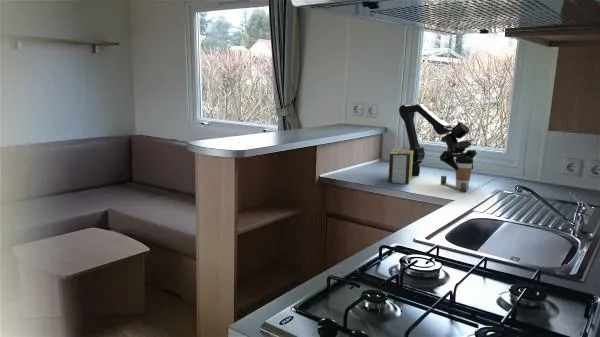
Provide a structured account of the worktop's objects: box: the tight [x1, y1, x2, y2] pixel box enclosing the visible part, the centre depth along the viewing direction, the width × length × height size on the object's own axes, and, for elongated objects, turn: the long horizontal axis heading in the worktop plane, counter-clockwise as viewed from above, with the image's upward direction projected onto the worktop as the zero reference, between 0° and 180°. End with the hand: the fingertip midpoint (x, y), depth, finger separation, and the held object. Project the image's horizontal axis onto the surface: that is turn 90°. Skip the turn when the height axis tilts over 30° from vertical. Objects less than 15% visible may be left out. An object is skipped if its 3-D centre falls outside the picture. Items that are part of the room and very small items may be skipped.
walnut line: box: [440, 175, 467, 193], centre depth 228 cm, size 20×3×4 cm, turn 15°
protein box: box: [388, 148, 413, 185], centre depth 241 cm, size 10×15×16 cm
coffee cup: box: [454, 156, 474, 189], centre depth 230 cm, size 8×8×15 cm
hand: (464, 169), depth 229 cm, fingers open, 9 cm apart
